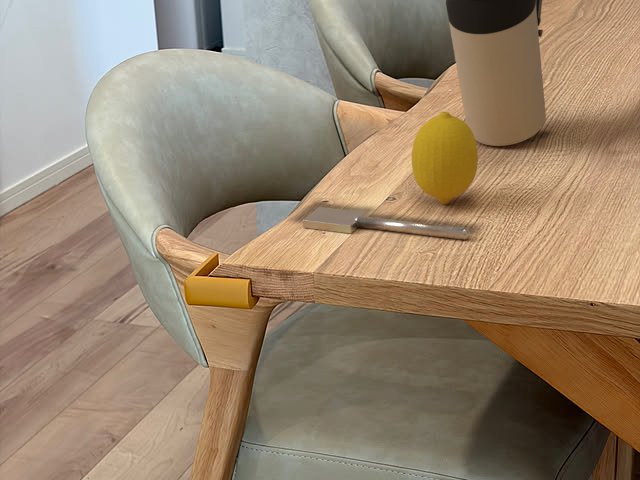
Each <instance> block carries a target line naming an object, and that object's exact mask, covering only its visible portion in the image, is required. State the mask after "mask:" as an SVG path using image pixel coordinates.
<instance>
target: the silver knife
mask: <svg viewBox="0 0 640 480" xmlns="http://www.w3.org/2000/svg"><path fill="white" fill-rule="evenodd" d="M302 228H303V229H309V230H317V231H318V230H320V231H327V232H335V233H336V232H337V233H343V234H353V233H354V232H355V231H356V230H357V229H358V228H364V229H371V230H379V231H387V232H388V231H389V232H397V233H404V234H413V235H422V236H429V237H439V238H447V239H454V240H463V241H464V240H465V241H466V240H468V239H469V238H470V236H471V232H470V230H469V229H468V228H465V227H458V226H451V225H441V224H433V223H425V222H424V223H423V222H413V221H405V220H398V219H397V220H396V219H388V218H379V217H372V216H371V217H370V216H367V212H366V211H360V210H359V211H358V210H352V209H351V210H350V209H341V208H332V207H323V206H319V207H317V208H315V210H313V211H312V212H311V213H309V215H307V216H306V217H305V218H303V219H302Z"/></svg>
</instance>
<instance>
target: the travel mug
mask: <svg viewBox="0 0 640 480" xmlns="http://www.w3.org/2000/svg"><path fill="white" fill-rule="evenodd" d="M445 6H446V7H445V8H446V13H447V18H448V24H449V30H450V35H451V43H452V48H453V54H454V61H455V65H456V71H457V77H458V83H459V89H460V94H461V101H462V107H463V113H464V118H465V123H466V124H467V125H468V126H469V128H470V129H471V131H472V132H473V135H474V137H475V141H476V142H479V143H480V144H483V145H488V146H494V147H503V146H510V145H516V144H519V143H521V142H524V141H526V140H528V139H530V138H532V137H533V136H535V135H536V134H537V133H538V132H540V130H541V129H542V128H543V126H544V125H545V122H546V118H547V114H546V113H547V111H546V103H545V101H546V100H545V93H544V92H545V91H544V90H545V89H544V80H543V68H542V57H541V48H540V47H541V45H540V37H539V34H538V30H539V26H538V23H537V12H536V0H445Z"/></svg>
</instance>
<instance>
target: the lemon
mask: <svg viewBox="0 0 640 480" xmlns="http://www.w3.org/2000/svg"><path fill="white" fill-rule="evenodd" d="M411 150H412V151H411V167H412V173H413V177H414V180H415V182H416V184H417V185H418V187H419V188H420V189H421V190H422V191H423V192H424V193H425V194H427V195H428V196H430V197H432V198H435V199H436V200H437V201H438V202H439V203H441V204H444V205H446V204H449V203H450V202H451V201H452V200H453V199H454V198H456V197H458V196H460V195H462V194H463V193H465V192H466V191H468V189H469V187H470V186H471V184H472V183H473V182H474V179H475V178H476V174H477V171H478V161H479V158H478V156H479V153H478V145H477V141H476V140H475V137H474V135H473V132H472V131H471V129H470V128H469V126H468V125H467V124H466V121H464V120H462V119H461V118H459V117H457V116H454V115H452V114H451V113H450V112H448V111H441V112H440V113H439V114H438V115H437V116H433V117H432V118H430V119H429V120H427V121H425V122H424V123H423V125H421V127H419V129H418V131H417V133H416V135H415V138H414V140H413V144H412V149H411Z"/></svg>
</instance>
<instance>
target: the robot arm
mask: <svg viewBox="0 0 640 480" xmlns="http://www.w3.org/2000/svg"><path fill="white" fill-rule="evenodd" d="M542 6H543V0H536V12H537V23H538V27H539V26H540V25H541V22H542V20H541V19H542V17H541V16H542ZM543 31H544V29H538V34H539V38H541V37H542V36H543V34H544V33H543Z"/></svg>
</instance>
